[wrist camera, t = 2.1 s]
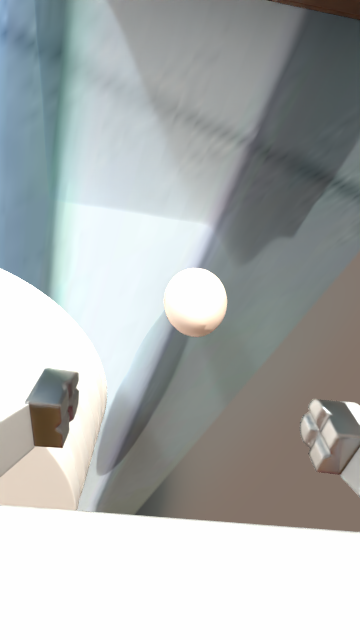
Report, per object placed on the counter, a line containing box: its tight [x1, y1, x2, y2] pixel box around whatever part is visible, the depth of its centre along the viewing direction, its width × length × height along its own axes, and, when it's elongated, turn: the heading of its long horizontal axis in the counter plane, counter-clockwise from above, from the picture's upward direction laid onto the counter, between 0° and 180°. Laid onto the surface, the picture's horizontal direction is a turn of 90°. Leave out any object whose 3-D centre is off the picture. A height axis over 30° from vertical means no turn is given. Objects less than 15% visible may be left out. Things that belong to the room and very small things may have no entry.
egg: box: [164, 268, 227, 337], centre depth 23 cm, size 5×5×7 cm
